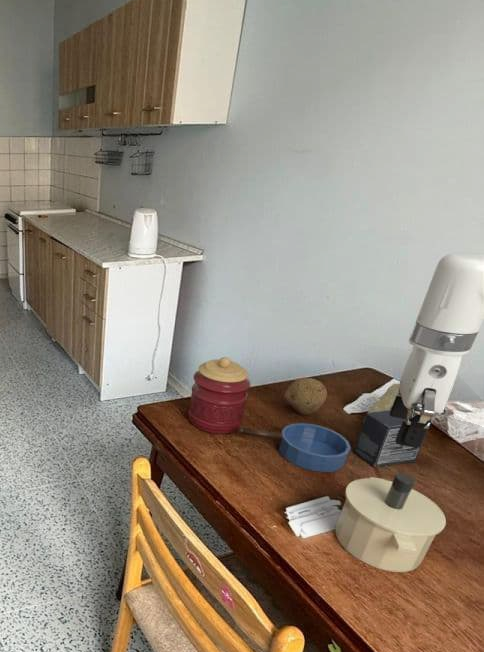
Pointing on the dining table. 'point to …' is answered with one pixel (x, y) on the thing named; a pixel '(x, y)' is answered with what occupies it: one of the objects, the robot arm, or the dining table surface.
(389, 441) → the small box
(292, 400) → the brown lumpy rounded lump
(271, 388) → the dining table surface
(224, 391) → the kitchen canister
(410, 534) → the lid
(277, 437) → the pan handle
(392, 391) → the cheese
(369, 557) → the pot
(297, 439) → the pan
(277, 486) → the dining table surface
